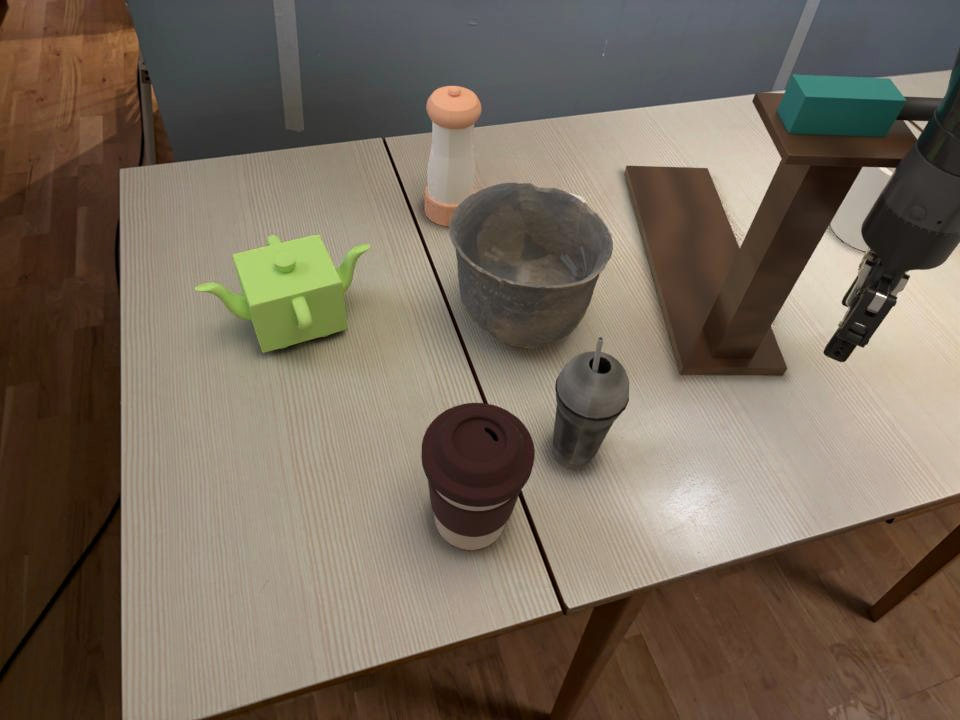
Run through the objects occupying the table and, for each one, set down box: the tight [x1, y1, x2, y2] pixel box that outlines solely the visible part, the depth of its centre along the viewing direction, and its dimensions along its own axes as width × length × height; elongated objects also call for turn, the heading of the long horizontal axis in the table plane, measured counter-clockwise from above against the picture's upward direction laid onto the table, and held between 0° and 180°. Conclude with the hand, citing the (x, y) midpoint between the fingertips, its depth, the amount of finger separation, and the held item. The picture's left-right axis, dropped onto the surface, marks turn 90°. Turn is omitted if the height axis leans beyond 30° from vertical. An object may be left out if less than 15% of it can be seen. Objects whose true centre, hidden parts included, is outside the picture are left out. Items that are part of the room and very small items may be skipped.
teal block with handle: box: [777, 73, 944, 137], centre depth 63 cm, size 22×4×4 cm, turn 92°
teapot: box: [194, 233, 372, 354], centre depth 83 cm, size 15×13×11 cm
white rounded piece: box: [829, 167, 896, 253], centre depth 106 cm, size 25×10×12 cm, turn 179°
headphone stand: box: [623, 91, 918, 377], centre depth 86 cm, size 13×41×32 cm, turn 2°
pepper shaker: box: [424, 85, 483, 227], centre depth 95 cm, size 7×7×19 cm
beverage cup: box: [551, 336, 630, 471], centre depth 70 cm, size 7×7×20 cm
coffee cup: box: [420, 402, 536, 551], centre depth 66 cm, size 10×10×15 cm
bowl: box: [448, 182, 614, 349], centre depth 84 cm, size 18×18×15 cm
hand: (842, 330), depth 73 cm, fingers open, 8 cm apart
